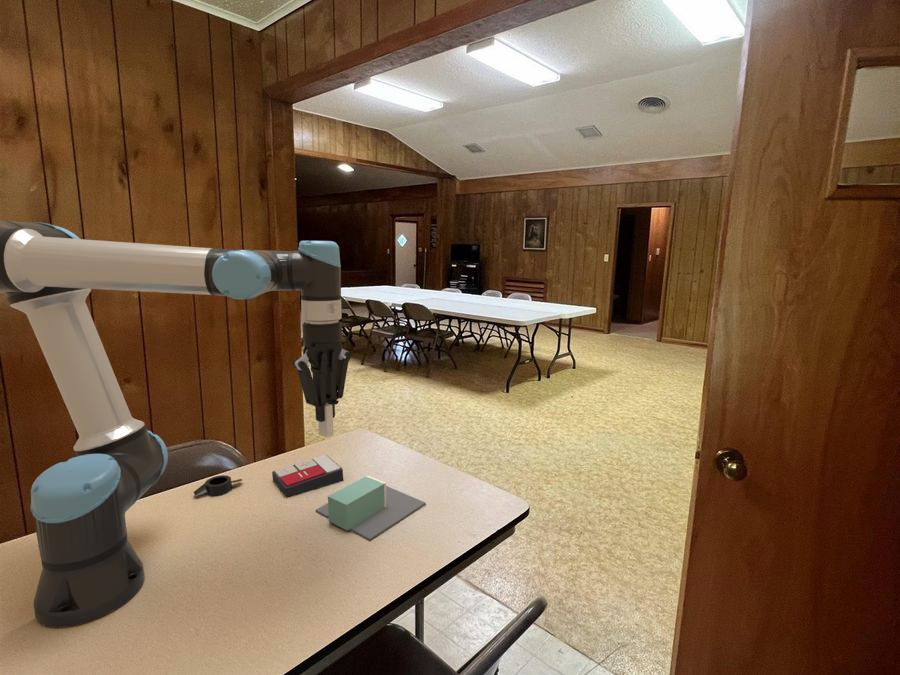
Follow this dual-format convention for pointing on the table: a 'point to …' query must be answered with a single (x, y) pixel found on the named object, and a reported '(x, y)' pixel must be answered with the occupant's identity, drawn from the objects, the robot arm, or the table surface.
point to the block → (356, 502)
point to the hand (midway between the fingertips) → (326, 434)
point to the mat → (384, 514)
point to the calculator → (307, 475)
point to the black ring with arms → (216, 486)
